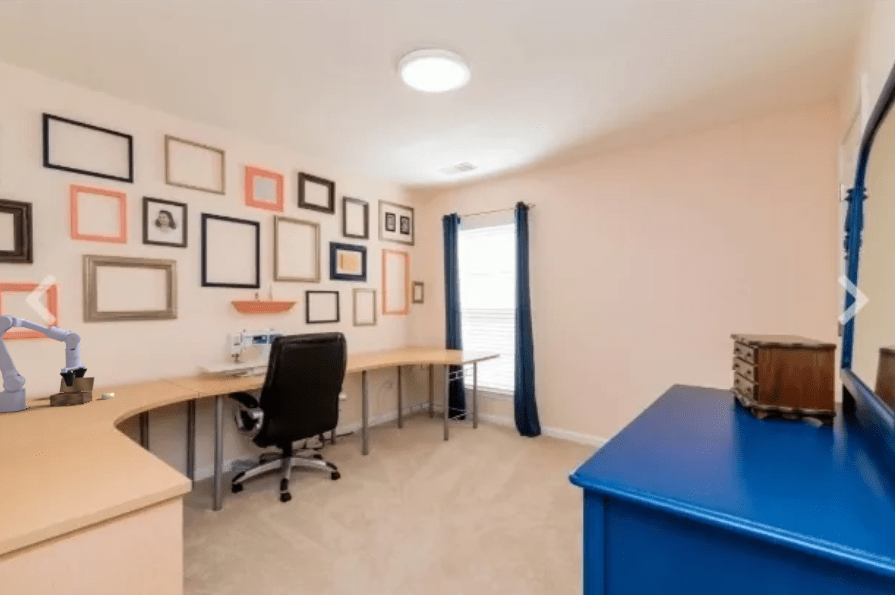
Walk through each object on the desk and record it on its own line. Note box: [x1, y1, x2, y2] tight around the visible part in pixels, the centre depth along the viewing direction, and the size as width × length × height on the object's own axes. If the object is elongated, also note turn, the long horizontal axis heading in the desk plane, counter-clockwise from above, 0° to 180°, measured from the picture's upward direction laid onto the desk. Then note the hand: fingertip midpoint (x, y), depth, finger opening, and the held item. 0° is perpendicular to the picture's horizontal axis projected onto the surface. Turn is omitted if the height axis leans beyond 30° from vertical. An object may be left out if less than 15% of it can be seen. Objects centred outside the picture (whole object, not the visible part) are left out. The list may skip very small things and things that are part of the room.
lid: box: [59, 376, 95, 393], centre depth 211 cm, size 14×7×1 cm
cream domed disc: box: [100, 392, 115, 400], centre depth 218 cm, size 5×5×2 cm
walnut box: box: [49, 391, 93, 406], centre depth 207 cm, size 14×6×5 cm, turn 101°
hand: (74, 384), depth 209 cm, fingers open, 6 cm apart
